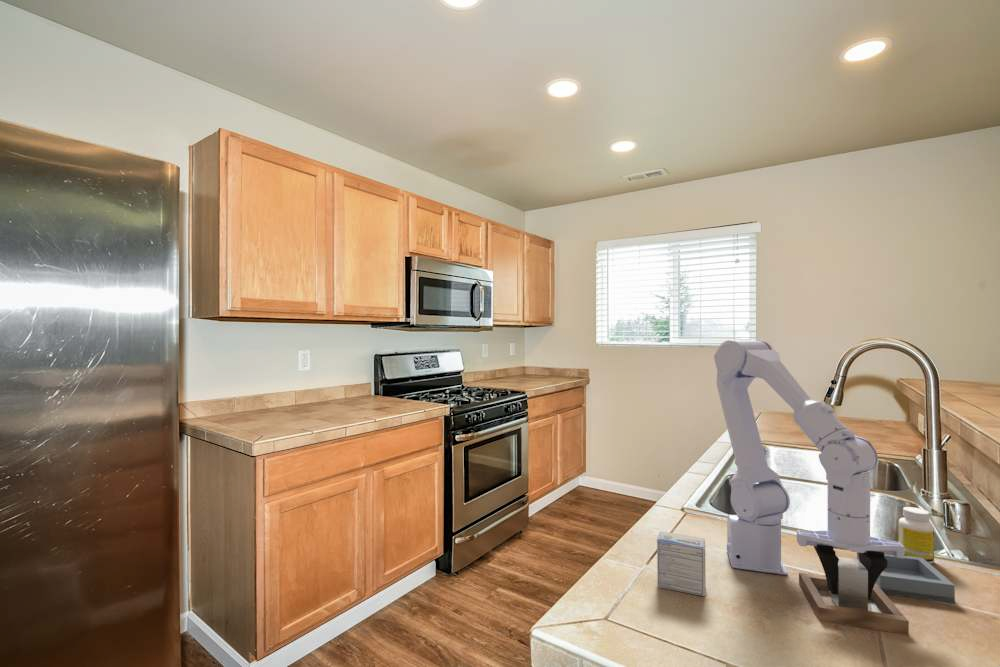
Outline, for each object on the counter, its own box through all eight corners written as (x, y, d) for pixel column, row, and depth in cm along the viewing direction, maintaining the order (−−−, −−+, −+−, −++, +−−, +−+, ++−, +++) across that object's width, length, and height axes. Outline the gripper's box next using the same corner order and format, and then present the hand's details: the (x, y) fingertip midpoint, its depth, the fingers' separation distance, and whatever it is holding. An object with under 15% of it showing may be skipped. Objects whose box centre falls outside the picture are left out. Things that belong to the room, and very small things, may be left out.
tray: (880, 592, 83) (880, 575, 83) (857, 565, 93) (856, 549, 93) (954, 603, 80) (954, 585, 80) (922, 573, 90) (922, 557, 90)
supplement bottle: (941, 566, 92) (941, 516, 92) (909, 564, 94) (908, 514, 94) (922, 554, 98) (922, 506, 98) (892, 551, 99) (892, 504, 99)
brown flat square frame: (819, 619, 75) (818, 607, 75) (798, 583, 86) (798, 572, 86) (908, 634, 72) (908, 621, 72) (875, 594, 83) (875, 583, 83)
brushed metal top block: (838, 609, 78) (838, 566, 78) (830, 596, 82) (830, 555, 82) (867, 614, 76) (867, 570, 76) (858, 600, 80) (858, 559, 80)
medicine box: (705, 585, 86) (705, 537, 86) (705, 598, 82) (704, 547, 82) (659, 576, 89) (659, 530, 89) (656, 587, 85) (656, 539, 85)
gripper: (804, 514, 78) (805, 598, 78) (914, 526, 73) (914, 615, 73) (793, 500, 84) (793, 577, 84) (892, 510, 80) (893, 591, 80)
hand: (848, 593), depth 79 cm, fingers closed on brushed metal top block, 4 cm apart
